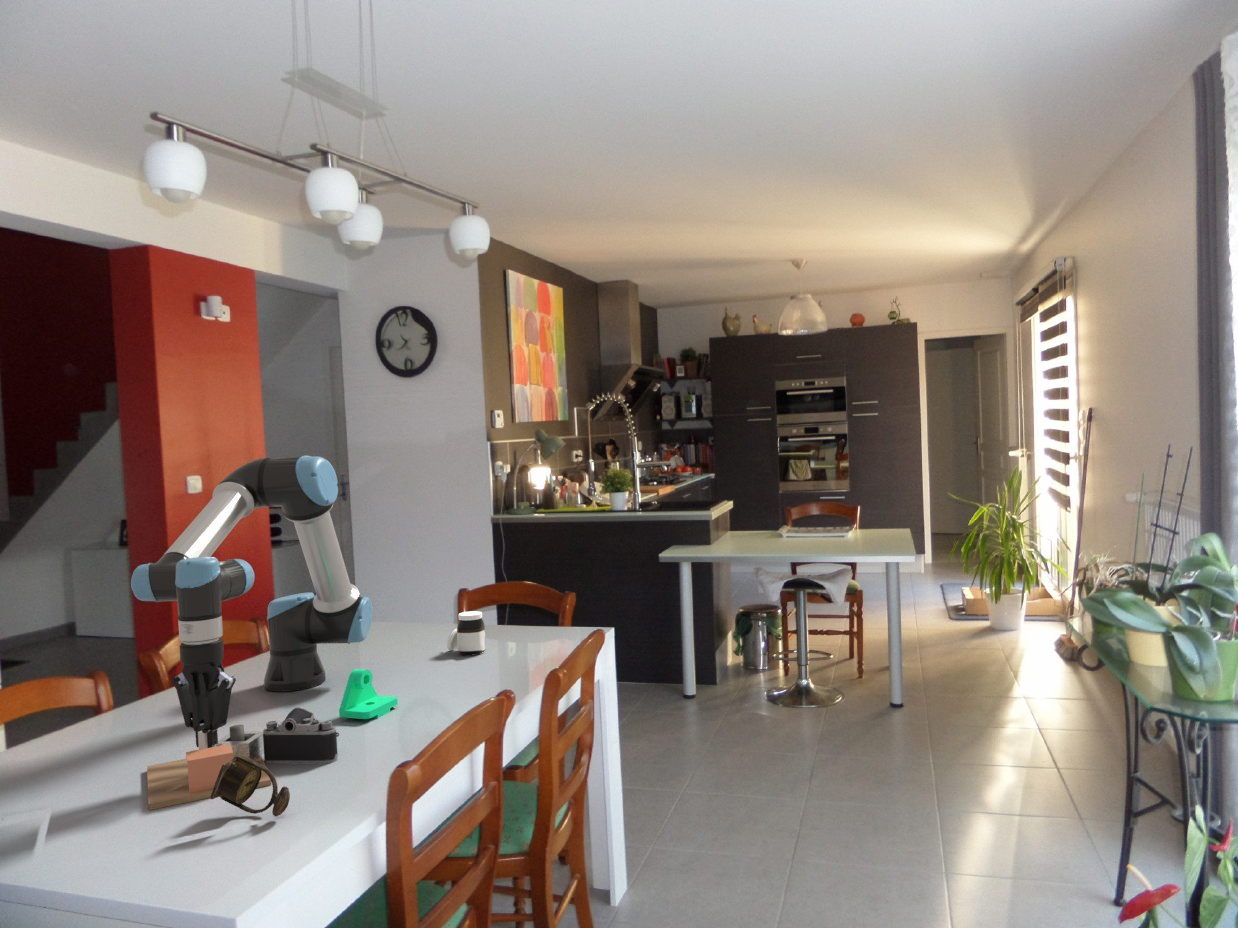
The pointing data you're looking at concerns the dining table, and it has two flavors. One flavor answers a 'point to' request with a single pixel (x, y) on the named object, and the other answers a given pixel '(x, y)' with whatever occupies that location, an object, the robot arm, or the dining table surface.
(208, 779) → the block
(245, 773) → the brass desk clock
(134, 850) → the dining table surface
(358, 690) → the camera mount
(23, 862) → the dining table surface
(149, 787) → the board
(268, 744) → the camera
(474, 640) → the spread jar
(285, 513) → the robot arm
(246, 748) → the link
